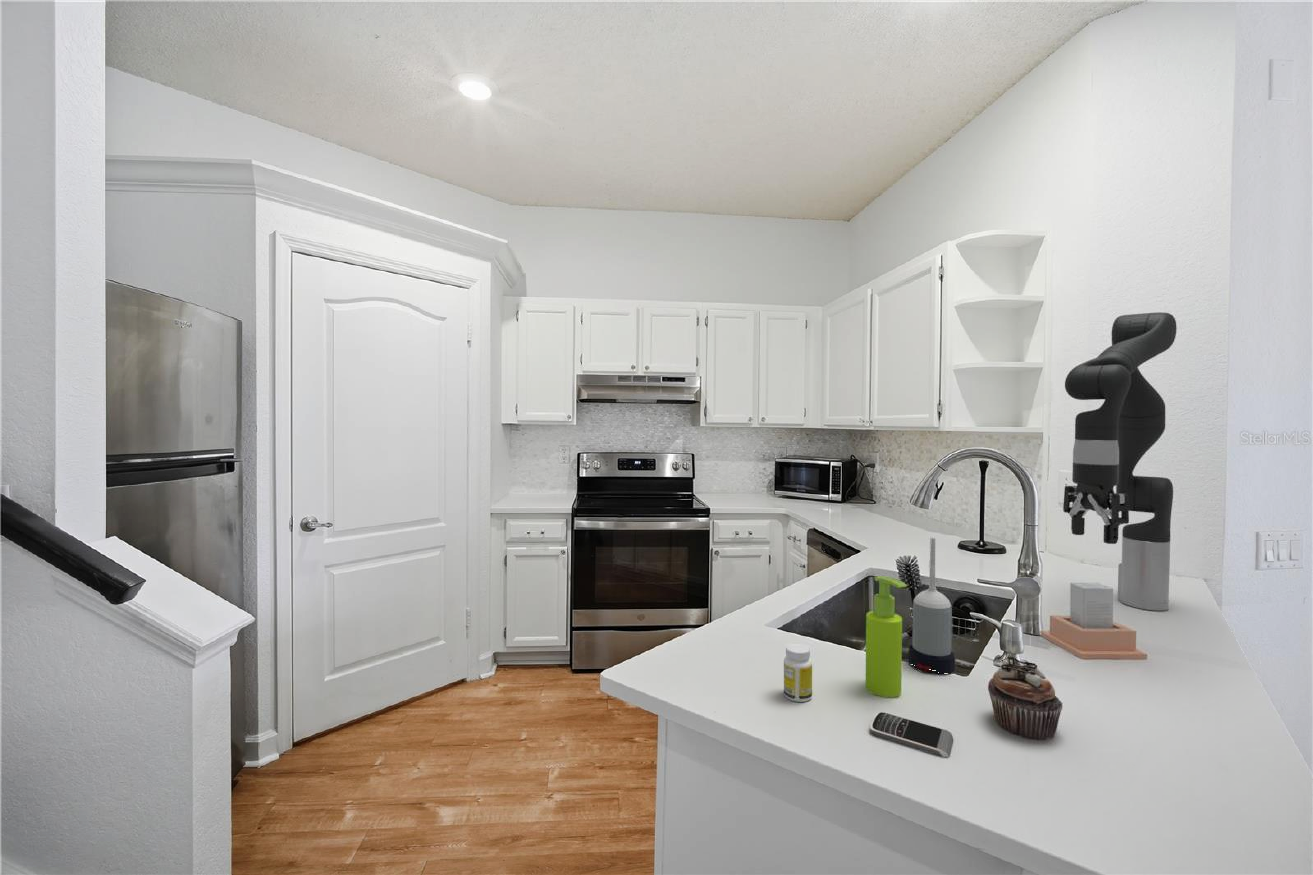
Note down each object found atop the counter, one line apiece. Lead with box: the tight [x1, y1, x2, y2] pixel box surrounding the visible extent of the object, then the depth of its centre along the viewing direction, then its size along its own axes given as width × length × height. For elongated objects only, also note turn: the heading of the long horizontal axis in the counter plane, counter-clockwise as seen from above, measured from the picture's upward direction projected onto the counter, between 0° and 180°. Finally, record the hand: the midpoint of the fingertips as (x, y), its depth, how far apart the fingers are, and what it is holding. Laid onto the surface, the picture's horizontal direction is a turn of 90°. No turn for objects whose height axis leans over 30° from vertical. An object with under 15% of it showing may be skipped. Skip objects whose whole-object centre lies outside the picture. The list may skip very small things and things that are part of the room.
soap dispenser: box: [864, 575, 908, 698], centre depth 96 cm, size 6×7×20 cm
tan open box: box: [1039, 615, 1148, 660], centre depth 115 cm, size 12×13×5 cm
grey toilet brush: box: [907, 537, 956, 676], centre depth 106 cm, size 8×8×25 cm
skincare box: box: [1069, 582, 1114, 629], centre depth 116 cm, size 6×4×12 cm
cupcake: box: [987, 656, 1063, 741], centre depth 86 cm, size 10×10×10 cm
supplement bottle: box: [783, 643, 813, 703], centre depth 95 cm, size 5×5×8 cm
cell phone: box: [869, 711, 955, 758], centre depth 83 cm, size 6×11×1 cm, turn 56°
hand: (1093, 538), depth 115 cm, fingers open, 8 cm apart
